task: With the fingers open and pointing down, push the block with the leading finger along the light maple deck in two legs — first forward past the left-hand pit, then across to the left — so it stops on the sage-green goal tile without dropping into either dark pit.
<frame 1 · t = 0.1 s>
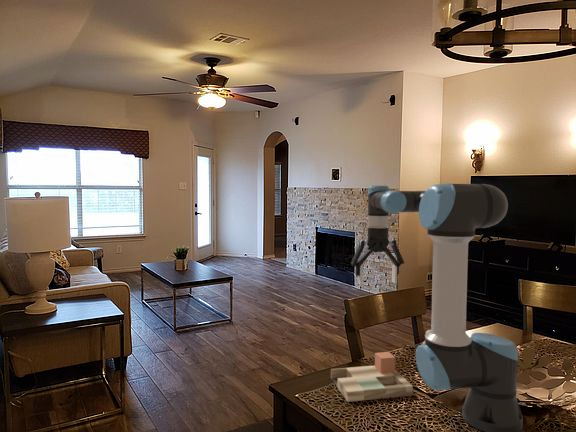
hand: (377, 283, 164), 28 cm above the table, tool pointing down, fingers open, 13 cm apart
block: (384, 369, 147), point 3 cm above the table, touching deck
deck: (369, 386, 141), on the table
teacup with lid: (434, 358, 165), on the table
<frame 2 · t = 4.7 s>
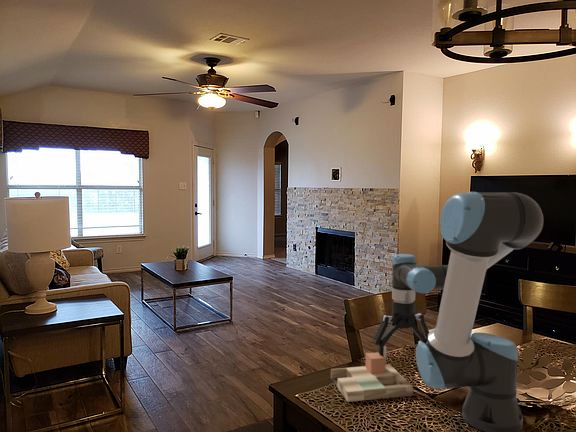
hand: (402, 362, 148), 5 cm above the table, tool pointing down, fingers open, 13 cm apart
block: (375, 370, 147), point 3 cm above the table, touching gripper
everything else where it was.
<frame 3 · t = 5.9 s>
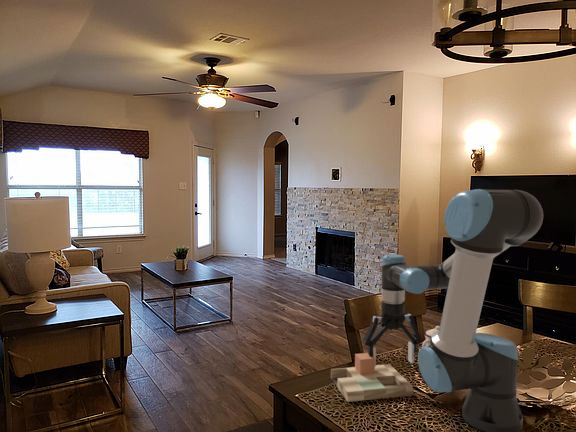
hand: (392, 363, 148), 5 cm above the table, tool pointing down, fingers open, 13 cm apart
block: (364, 370, 146), point 3 cm above the table, touching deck, gripper
everything else where it was.
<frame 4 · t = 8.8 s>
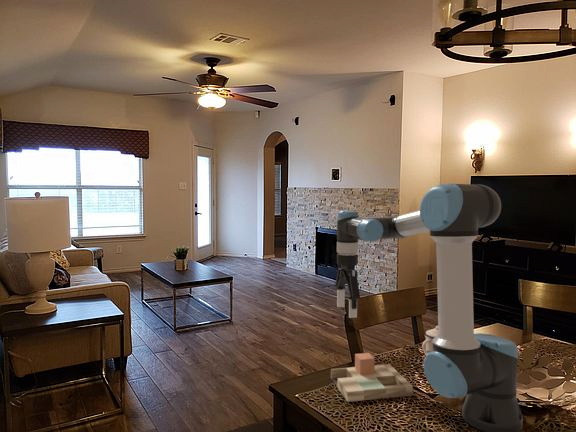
hand: (346, 312, 159), 19 cm above the table, tool pointing down, fingers open, 13 cm apart
block: (364, 370, 146), point 3 cm above the table, touching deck
everything else where it was.
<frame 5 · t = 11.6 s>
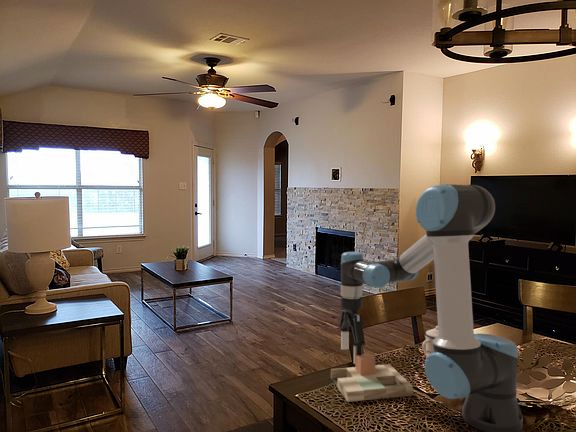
hand: (351, 356, 155), 5 cm above the table, tool pointing down, fingers open, 13 cm apart
block: (365, 371, 146), point 3 cm above the table, touching gripper
everything else where it was.
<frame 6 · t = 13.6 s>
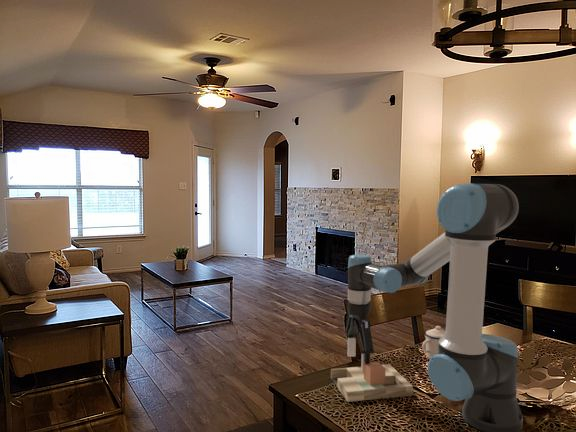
hand: (358, 364, 147), 5 cm above the table, tool pointing down, fingers open, 13 cm apart
block: (374, 381, 138), point 3 cm above the table, touching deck, gripper
everything else where it was.
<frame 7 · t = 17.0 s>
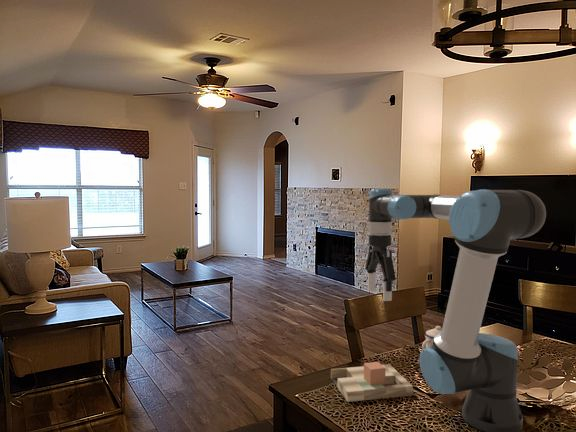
hand: (379, 295, 151), 27 cm above the table, tool pointing down, fingers open, 13 cm apart
block: (374, 381, 138), point 3 cm above the table, touching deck
everything else where it was.
at the end: block inside the target area (2.2 cm from its centre), point 3.0 cm above the table; block tilted 0° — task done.
